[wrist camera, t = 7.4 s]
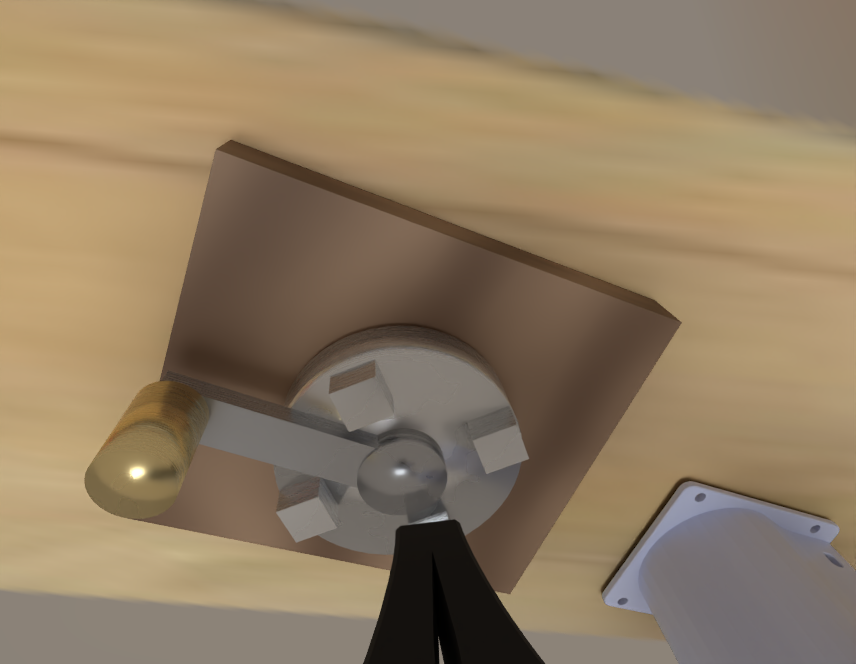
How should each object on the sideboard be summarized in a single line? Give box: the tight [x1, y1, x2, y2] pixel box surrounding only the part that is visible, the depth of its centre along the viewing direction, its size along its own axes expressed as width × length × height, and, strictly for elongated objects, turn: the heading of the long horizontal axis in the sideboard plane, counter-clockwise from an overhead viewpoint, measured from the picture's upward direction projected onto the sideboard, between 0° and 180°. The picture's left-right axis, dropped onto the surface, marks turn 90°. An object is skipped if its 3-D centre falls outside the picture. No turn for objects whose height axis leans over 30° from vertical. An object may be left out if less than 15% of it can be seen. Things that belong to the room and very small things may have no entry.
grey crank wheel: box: [85, 326, 529, 555], centre depth 17 cm, size 12×8×6 cm, turn 65°
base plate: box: [129, 140, 682, 594], centre depth 21 cm, size 16×14×2 cm
